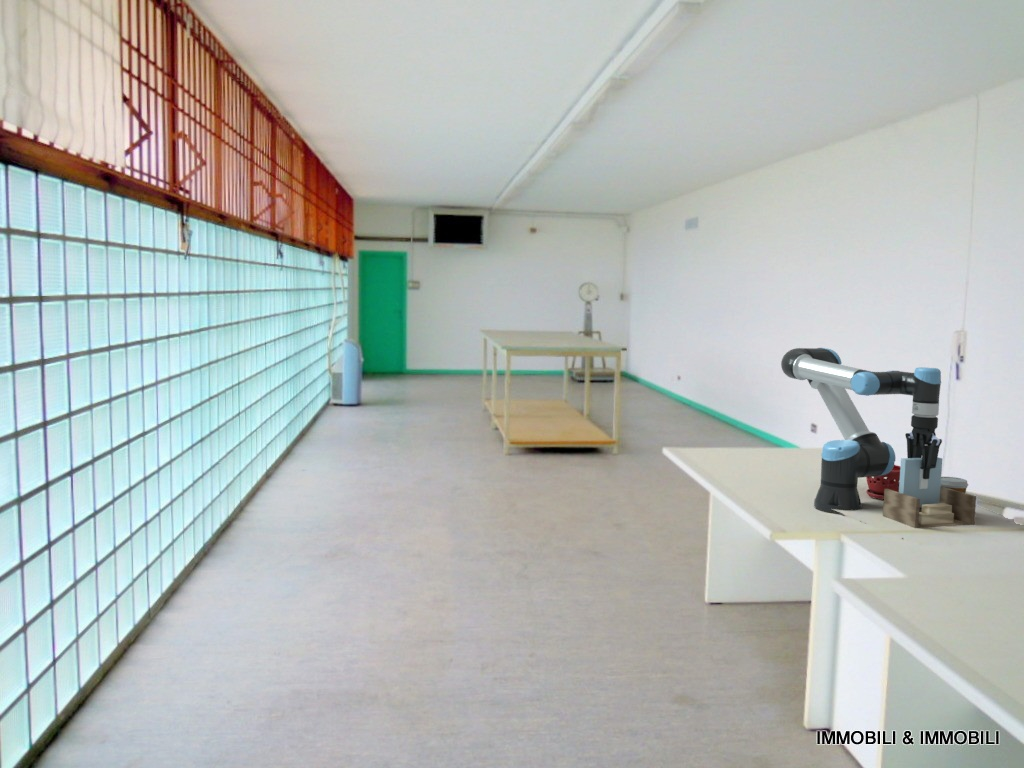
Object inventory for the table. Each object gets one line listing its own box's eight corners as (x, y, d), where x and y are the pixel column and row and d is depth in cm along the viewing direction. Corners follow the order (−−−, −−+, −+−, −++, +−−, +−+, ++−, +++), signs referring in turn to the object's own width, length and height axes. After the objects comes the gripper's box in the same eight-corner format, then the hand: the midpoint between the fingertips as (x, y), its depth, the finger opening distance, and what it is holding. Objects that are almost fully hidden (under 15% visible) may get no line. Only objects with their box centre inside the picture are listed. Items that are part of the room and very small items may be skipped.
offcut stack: (913, 521, 240) (914, 504, 239) (945, 519, 243) (946, 502, 242) (922, 524, 236) (923, 507, 236) (954, 522, 239) (955, 505, 239)
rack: (882, 520, 246) (884, 488, 245) (939, 517, 251) (941, 486, 251) (914, 532, 233) (916, 499, 232) (973, 529, 238) (976, 496, 237)
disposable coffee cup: (973, 517, 252) (975, 482, 251) (947, 518, 251) (950, 482, 249) (952, 510, 261) (954, 476, 260) (927, 510, 260) (929, 476, 259)
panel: (897, 507, 245) (901, 458, 244) (934, 505, 248) (937, 457, 247) (902, 508, 243) (905, 459, 242) (938, 506, 246) (942, 458, 245)
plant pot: (864, 499, 275) (866, 467, 274) (865, 492, 287) (866, 461, 285) (905, 504, 269) (907, 470, 268) (903, 496, 281) (905, 464, 280)
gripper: (897, 412, 249) (893, 482, 252) (933, 419, 235) (927, 493, 237) (917, 412, 251) (912, 481, 253) (953, 418, 236) (947, 492, 239)
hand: (919, 487), depth 245 cm, fingers closed on panel, 2 cm apart
